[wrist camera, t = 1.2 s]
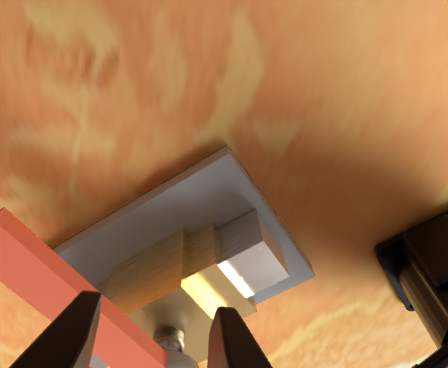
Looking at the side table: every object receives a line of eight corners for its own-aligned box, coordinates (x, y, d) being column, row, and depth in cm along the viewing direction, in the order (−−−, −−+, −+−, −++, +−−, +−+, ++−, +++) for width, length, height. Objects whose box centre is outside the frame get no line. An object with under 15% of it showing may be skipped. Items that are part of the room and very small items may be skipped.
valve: (287, 248, 25) (314, 337, 19) (115, 335, 28) (95, 435, 22) (244, 188, 22) (261, 270, 17) (62, 290, 25) (24, 389, 20)
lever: (211, 375, 20) (212, 396, 19) (159, 399, 20) (158, 419, 19) (18, 197, 14) (6, 213, 13) (-45, 237, 15) (-59, 256, 14)
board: (310, 264, 26) (314, 275, 25) (134, 351, 29) (132, 364, 29) (227, 144, 22) (228, 153, 21) (28, 263, 25) (22, 274, 24)
